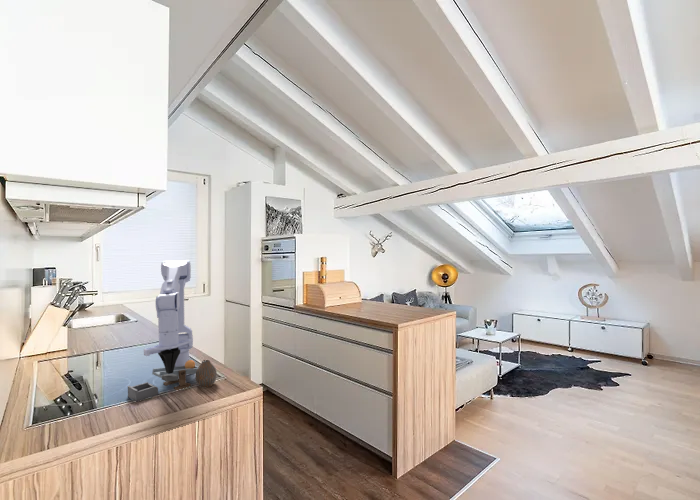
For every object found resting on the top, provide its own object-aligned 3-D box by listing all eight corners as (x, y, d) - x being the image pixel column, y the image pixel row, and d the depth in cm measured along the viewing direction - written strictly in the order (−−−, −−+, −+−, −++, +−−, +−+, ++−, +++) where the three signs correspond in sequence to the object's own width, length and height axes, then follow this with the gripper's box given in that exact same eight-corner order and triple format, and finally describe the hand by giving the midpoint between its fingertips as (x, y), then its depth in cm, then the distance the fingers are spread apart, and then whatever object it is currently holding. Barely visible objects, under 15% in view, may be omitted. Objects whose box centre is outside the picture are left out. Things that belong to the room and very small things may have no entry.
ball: (182, 369, 129) (183, 359, 130) (191, 368, 132) (192, 358, 132) (187, 371, 127) (188, 361, 127) (196, 370, 130) (197, 360, 130)
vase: (212, 389, 121) (211, 363, 121) (192, 389, 122) (191, 363, 122) (220, 381, 128) (219, 357, 128) (201, 382, 128) (200, 357, 129)
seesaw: (148, 374, 121) (149, 368, 122) (191, 369, 133) (192, 364, 133) (166, 382, 113) (167, 376, 113) (211, 377, 124) (211, 371, 125)
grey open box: (128, 396, 117) (127, 386, 117) (149, 390, 122) (149, 380, 122) (136, 401, 113) (135, 390, 113) (158, 394, 118) (158, 384, 118)
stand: (163, 384, 127) (163, 367, 127) (177, 380, 131) (177, 363, 131) (176, 390, 121) (176, 373, 121) (191, 386, 125) (190, 369, 125)
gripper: (149, 336, 107) (151, 382, 107) (196, 327, 118) (197, 368, 118) (140, 334, 112) (141, 377, 112) (186, 325, 123) (187, 365, 123)
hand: (169, 372), depth 115 cm, fingers closed
